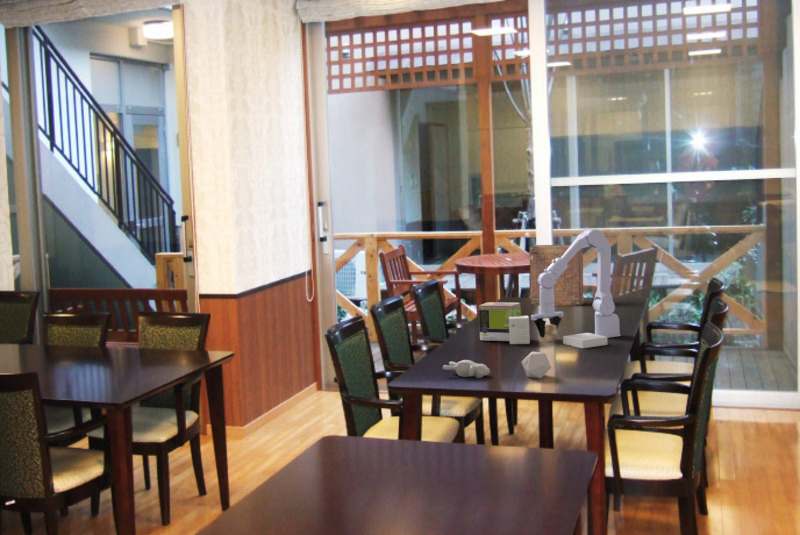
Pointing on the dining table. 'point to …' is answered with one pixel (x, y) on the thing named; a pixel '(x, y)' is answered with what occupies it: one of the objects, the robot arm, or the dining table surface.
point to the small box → (519, 330)
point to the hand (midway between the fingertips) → (547, 336)
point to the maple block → (549, 333)
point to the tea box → (496, 320)
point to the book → (567, 283)
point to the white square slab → (585, 340)
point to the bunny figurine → (468, 368)
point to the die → (536, 364)
